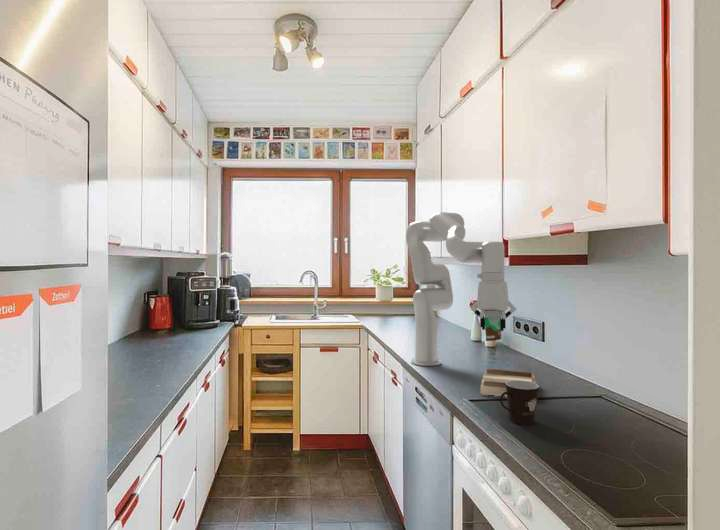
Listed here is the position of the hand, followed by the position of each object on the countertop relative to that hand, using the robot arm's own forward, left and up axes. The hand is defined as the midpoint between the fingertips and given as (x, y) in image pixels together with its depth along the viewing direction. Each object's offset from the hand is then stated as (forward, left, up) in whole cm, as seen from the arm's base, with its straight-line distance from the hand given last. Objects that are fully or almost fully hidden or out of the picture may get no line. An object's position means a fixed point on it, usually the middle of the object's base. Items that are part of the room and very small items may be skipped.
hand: (492, 329), depth 156 cm
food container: (0, +1, -3) cm, 3 cm away
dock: (+1, +5, -20) cm, 21 cm away
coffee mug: (+31, +8, -20) cm, 38 cm away
